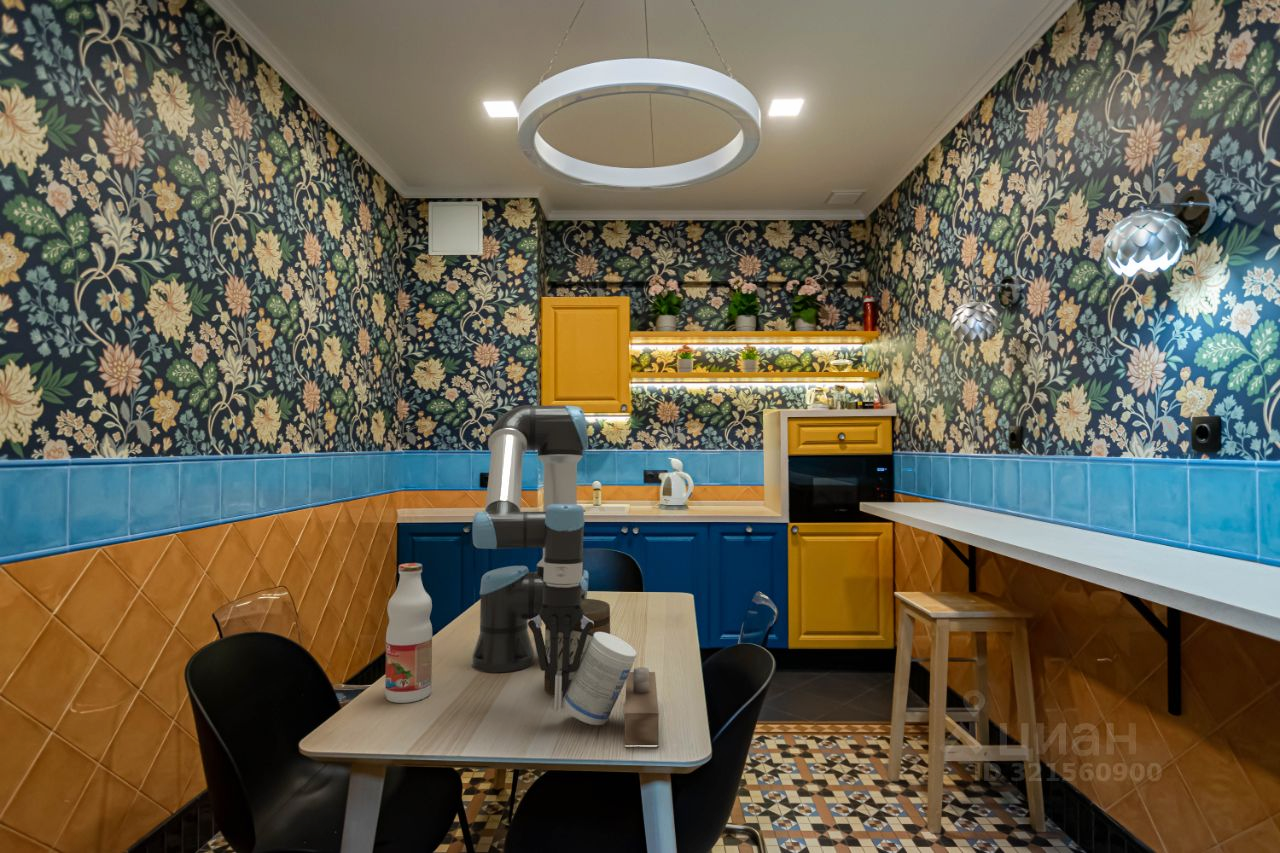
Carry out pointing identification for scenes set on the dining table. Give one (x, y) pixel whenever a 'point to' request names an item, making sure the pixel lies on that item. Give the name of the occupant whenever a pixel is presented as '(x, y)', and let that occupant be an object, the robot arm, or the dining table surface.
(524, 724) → the dining table surface
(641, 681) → the bench stop
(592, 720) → the supplement tub
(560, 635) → the wooden container
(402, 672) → the fruit juice
